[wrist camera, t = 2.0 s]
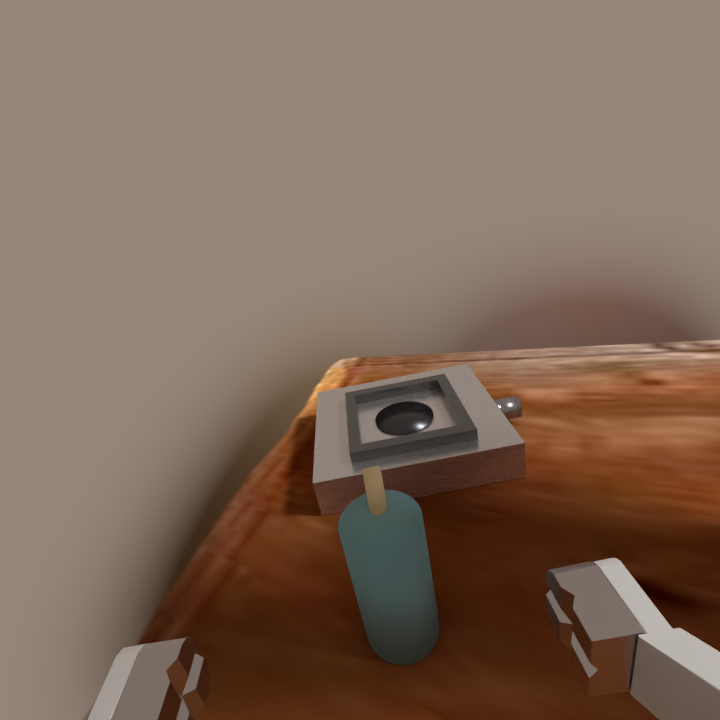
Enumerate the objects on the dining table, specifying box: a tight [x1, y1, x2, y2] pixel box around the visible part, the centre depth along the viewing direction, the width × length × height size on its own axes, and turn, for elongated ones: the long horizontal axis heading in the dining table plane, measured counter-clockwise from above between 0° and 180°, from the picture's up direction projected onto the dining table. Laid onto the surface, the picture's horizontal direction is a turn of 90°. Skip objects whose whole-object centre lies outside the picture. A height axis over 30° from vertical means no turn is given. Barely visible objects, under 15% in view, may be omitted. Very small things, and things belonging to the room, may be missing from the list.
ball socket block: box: [313, 364, 526, 516], centre depth 48 cm, size 23×18×5 cm
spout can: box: [338, 466, 440, 665], centre depth 28 cm, size 5×6×12 cm
